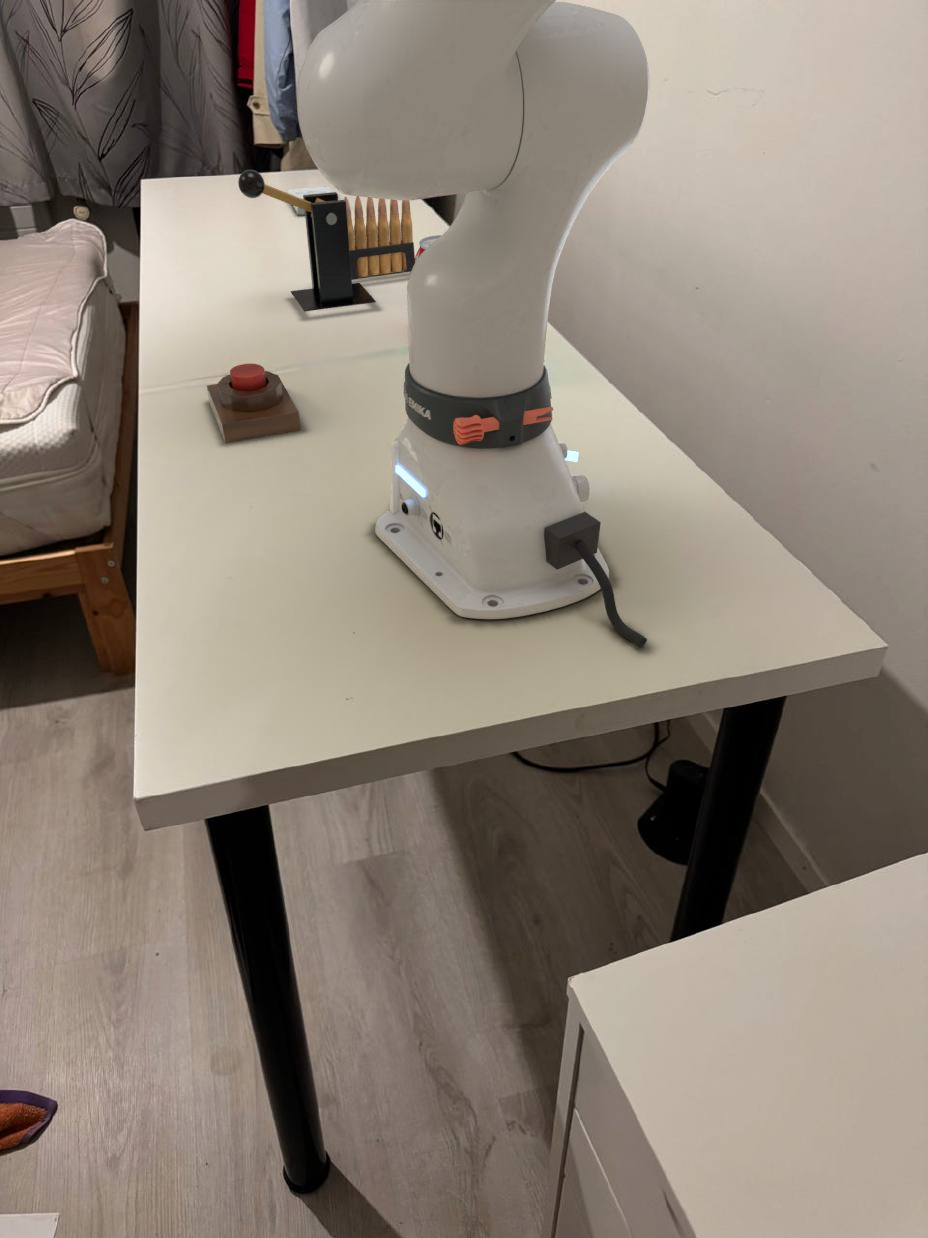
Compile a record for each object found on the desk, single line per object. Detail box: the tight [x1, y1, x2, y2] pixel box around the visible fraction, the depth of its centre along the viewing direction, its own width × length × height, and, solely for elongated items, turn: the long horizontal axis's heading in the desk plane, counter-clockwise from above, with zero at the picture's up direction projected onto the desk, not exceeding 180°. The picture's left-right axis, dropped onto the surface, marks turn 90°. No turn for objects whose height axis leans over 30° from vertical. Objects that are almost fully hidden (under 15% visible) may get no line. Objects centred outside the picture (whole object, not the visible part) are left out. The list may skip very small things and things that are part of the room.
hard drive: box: [286, 186, 340, 216], centre depth 163 cm, size 2×8×12 cm
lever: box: [237, 169, 326, 217], centre depth 114 cm, size 13×3×3 cm, turn 112°
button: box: [229, 363, 267, 391], centre depth 95 cm, size 4×4×2 cm
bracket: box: [290, 191, 377, 313], centre depth 120 cm, size 10×8×14 cm
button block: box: [206, 370, 302, 444], centre depth 97 cm, size 10×8×4 cm
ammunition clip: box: [343, 196, 416, 281], centre depth 128 cm, size 11×2×12 cm, turn 114°
